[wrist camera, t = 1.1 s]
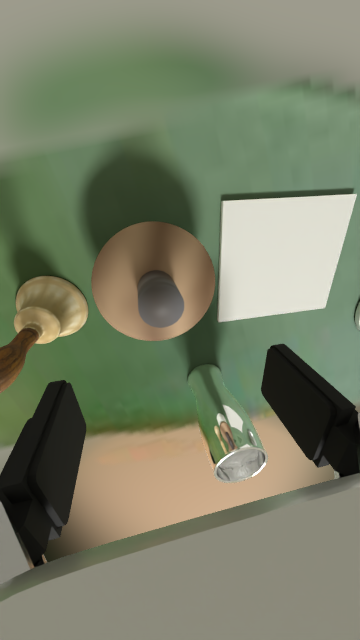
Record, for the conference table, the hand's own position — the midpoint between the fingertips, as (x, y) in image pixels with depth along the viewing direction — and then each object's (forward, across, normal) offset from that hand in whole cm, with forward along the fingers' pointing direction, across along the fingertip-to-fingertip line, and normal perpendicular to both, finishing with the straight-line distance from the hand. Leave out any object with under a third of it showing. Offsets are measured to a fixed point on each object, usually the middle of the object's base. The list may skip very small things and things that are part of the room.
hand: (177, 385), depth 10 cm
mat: (+20, -19, 0) cm, 27 cm away
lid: (+16, 0, 0) cm, 16 cm away
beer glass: (+20, -8, +19) cm, 29 cm away
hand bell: (+21, +12, +3) cm, 24 cm away
